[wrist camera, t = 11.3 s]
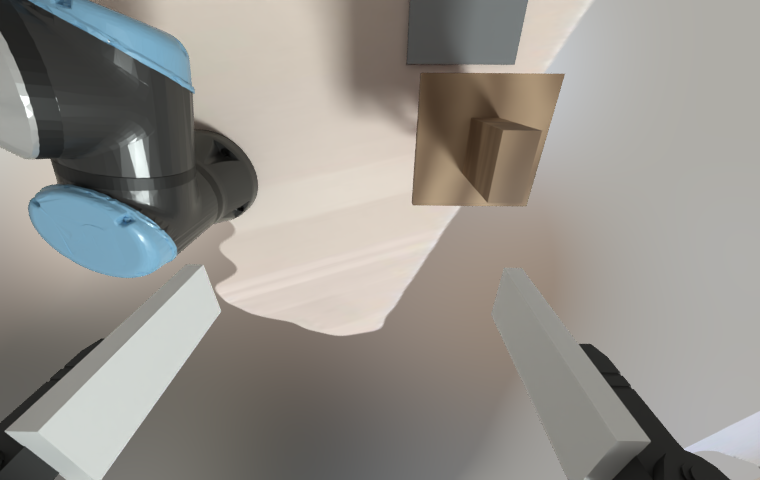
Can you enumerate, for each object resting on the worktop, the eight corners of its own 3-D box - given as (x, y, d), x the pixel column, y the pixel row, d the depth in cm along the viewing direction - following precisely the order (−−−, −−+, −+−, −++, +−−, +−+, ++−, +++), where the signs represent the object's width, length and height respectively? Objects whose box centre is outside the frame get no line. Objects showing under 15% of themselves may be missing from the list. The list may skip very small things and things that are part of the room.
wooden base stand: (411, 201, 35) (421, 241, 26) (420, 73, 28) (437, 68, 19) (522, 202, 35) (568, 243, 26) (558, 74, 28) (638, 70, 19)
